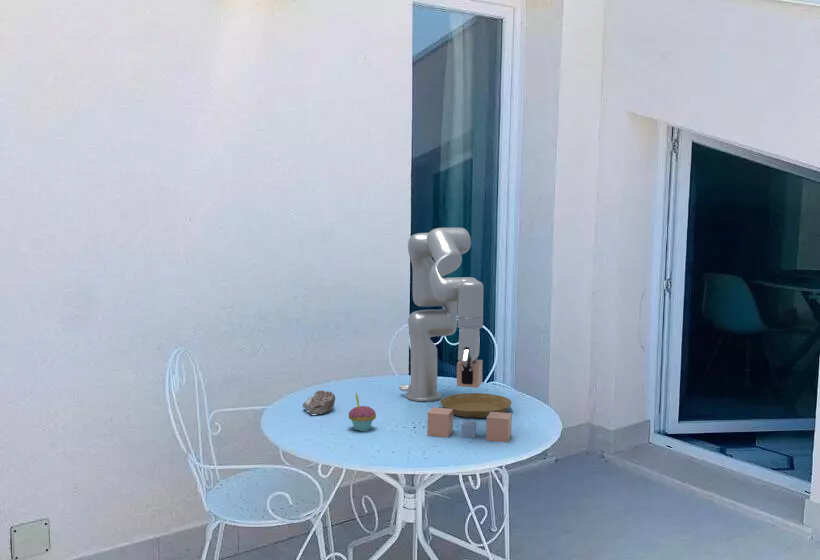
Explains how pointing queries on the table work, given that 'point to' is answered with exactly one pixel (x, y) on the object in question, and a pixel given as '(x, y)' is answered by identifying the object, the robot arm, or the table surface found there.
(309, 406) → the seashell
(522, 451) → the table surface
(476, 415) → the plant saucer
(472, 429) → the cube
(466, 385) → the toy block
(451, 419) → the peach toy brick
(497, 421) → the salmon orange block
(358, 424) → the cupcake
